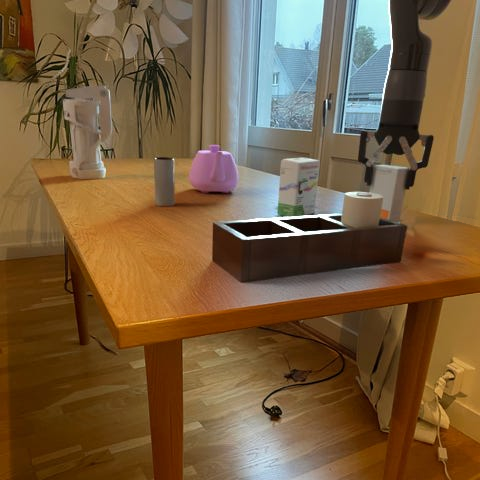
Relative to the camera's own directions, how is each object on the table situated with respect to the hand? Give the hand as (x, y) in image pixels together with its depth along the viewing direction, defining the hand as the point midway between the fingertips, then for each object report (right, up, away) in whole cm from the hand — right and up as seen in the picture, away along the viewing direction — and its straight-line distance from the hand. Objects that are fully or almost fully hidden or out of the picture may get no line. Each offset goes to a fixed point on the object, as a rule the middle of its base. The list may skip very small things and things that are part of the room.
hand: (388, 187), depth 97 cm
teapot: (-37, +8, +33) cm, 50 cm away
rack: (-19, -18, -22) cm, 34 cm away
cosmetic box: (0, -7, +3) cm, 8 cm away
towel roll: (-11, -17, -18) cm, 27 cm away
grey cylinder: (-48, 0, +14) cm, 50 cm away
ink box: (-18, -3, +11) cm, 21 cm away
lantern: (-75, +16, +47) cm, 90 cm away
